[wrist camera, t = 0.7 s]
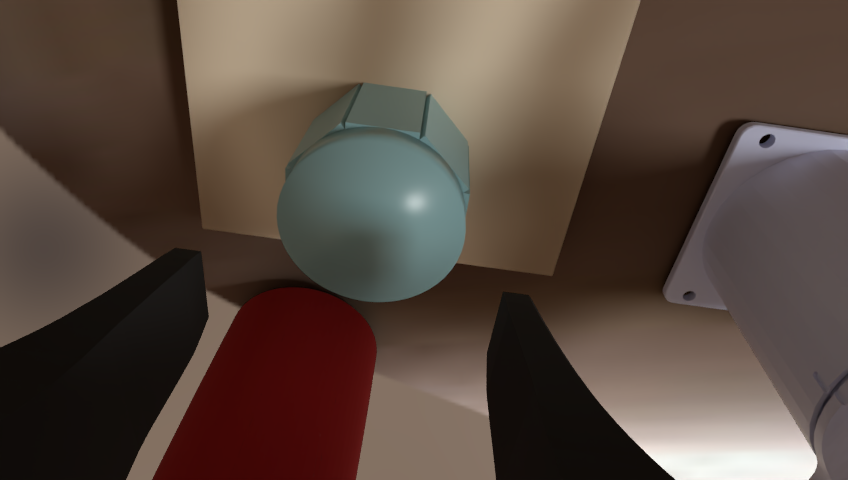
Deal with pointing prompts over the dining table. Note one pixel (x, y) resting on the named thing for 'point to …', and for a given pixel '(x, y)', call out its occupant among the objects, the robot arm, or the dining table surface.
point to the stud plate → (412, 69)
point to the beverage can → (280, 394)
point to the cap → (377, 195)
